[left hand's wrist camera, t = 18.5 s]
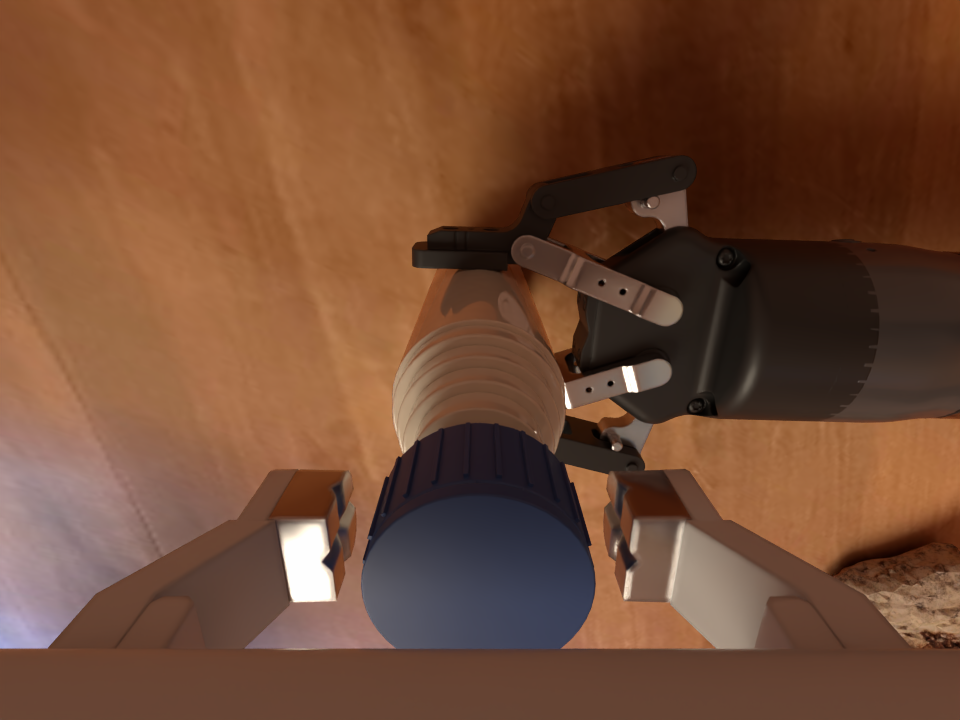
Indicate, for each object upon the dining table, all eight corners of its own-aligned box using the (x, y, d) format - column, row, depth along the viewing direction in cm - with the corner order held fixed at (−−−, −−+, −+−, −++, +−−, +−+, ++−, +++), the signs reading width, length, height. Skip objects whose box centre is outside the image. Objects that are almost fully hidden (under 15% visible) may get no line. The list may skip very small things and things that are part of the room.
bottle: (451, 226, 27) (380, 396, 8) (538, 258, 27) (675, 493, 8) (422, 311, 28) (303, 627, 9) (504, 340, 29) (553, 693, 10)
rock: (935, 687, 39) (1008, 771, 34) (796, 712, 40) (846, 798, 35) (947, 531, 34) (1036, 602, 28) (786, 564, 34) (843, 639, 29)
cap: (503, 605, 11) (509, 707, 9) (347, 525, 10) (314, 618, 8) (614, 480, 10) (649, 565, 8) (447, 382, 9) (438, 446, 7)
